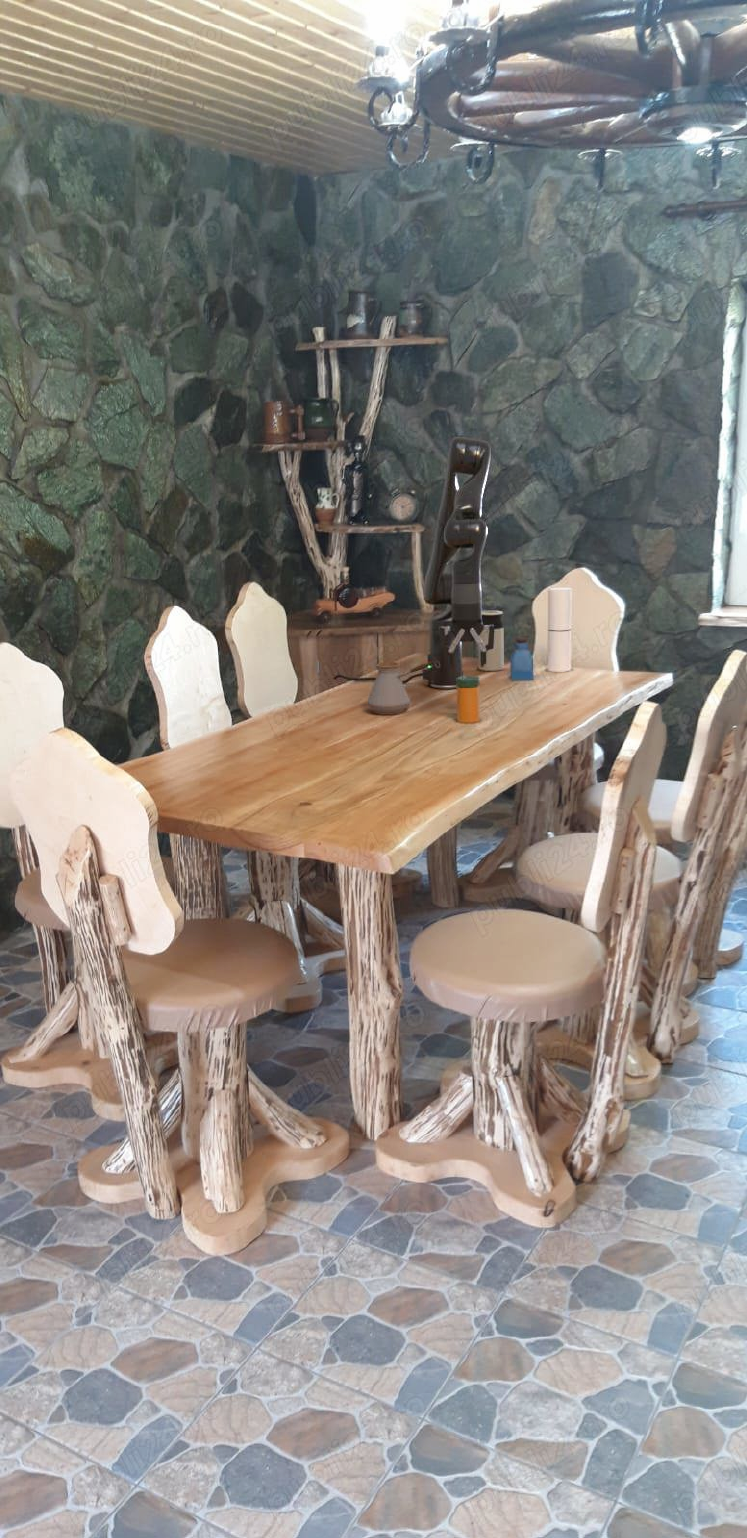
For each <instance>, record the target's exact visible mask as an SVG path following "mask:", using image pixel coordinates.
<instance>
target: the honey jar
mask: <svg viewBox="0 0 747 1538" xmlns="http://www.w3.org/2000/svg"><path fill="white" fill-rule="evenodd" d="M456 721H457V722H459V723H463V724H472V723H473V724H474V723H477V722H480V685H479V686H477V687H458V686H457V688H456Z"/></svg>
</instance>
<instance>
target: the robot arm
mask: <svg viewBox="0 0 747 1538" xmlns="http://www.w3.org/2000/svg"><path fill="white" fill-rule="evenodd" d="M491 457H492V448H491V445H490V443H489V442H488V441H485V440H482V439H477V438H476V439H475V438H470V437H462V436H455V437H453V438H452V439H451V441H450V444H449V446H448V452H447V458H446V465H445V467H446V468H445V475H444V484H443V491H442V496H441V502H440V505H439V506H440V507H439V510H438V515H437V519H436V524H435V531H434V539H433V544H432V550H431V554H430V559H429V562H428V566H427V569H426V572H425V577H424V580H423V588H422V593H423V595H422V596H423V599H424V601H425V603H426V604H427V605H429V606H442V605H443V606H445V605H446V608H445V609H444V610H443V611H441V612H440V613H439V614H437V615H434V616H432V617H431V618H430V619H429V649H430V650H429V651H430V653H428V654H427V663H428V662H432V661H434V660H437V661H438V662H437V663H435V664H436V666H437V667H439V666H440V667H439V668H437V667H436V666H435V664H432V666H428V667H426V668H424V669H422V672H421V673H416V674H413V675H411V676H409V677H408V678H406V679H405V680H402V683H403V684H407V683H409V682H410V681H411V680H412V679H414V678H418V677H422V681H427V687H428V688H433V689H441V690H449V689H450V690H451V689H457V686H456V678H458V677H463V676H464V670H463V643H465V642H469V643H471V642H472V643H474V642H476V644H477V646H478V645H479V647H480V649H481V651H480V665H481V667H484V664H486V652H487V651H488V650H490V649H493V648H494V630H495V627H494V625H492V624H491V625H483V623H482V611H483V604H482V603H483V595H482V585H481V564H482V558H483V557H482V556H483V552H484V548H485V546H486V541H487V538H488V526H487V524H486V522H485V521H484V520H483V519H482V518H481V517H482V506H483V495H484V492H485V489H486V484H487V479H488V474H489V469H490V464H491ZM459 474H460V475H467V476H471V477H470V478H469V479H468V480H467V481H465V482H463V484H461V485H460V484H459V479H458V475H459ZM461 549H472V551H471V553H470V554H469V555H468V556H463V557H459V558H455V559H454V560H453V558H454V557H455V556H456V555H457V554H458V553H459V552H460V551H461ZM451 560H453V561H452V563H451V571H445V569H446V567H447V566H448V564H449V562H450V561H451ZM483 629H485V630H486V633H487V634H489V637H488V644H487V645H485V646H484V644H483V642H482V641H481V639H480V637H479V635H480V634H481V632H482V631H483ZM439 663H440V665H439ZM338 678H342V679H344V680H347V681H355V682H356V681H357V682H358V681H375V680H376V677H348V676H346V675H343V674H336V675H335V676H334V677H333V678H332V680H337V679H338Z"/></svg>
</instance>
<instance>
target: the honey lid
mask: <svg viewBox="0 0 747 1538" xmlns="http://www.w3.org/2000/svg"><path fill="white" fill-rule="evenodd" d="M480 684H481V683H480V677H478V676H475V675H462V677H458V678H456V686H458V687H477V686H479V687H480V686H481V685H480Z"/></svg>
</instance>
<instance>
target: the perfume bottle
mask: <svg viewBox="0 0 747 1538" xmlns="http://www.w3.org/2000/svg"><path fill="white" fill-rule="evenodd" d="M527 641H528V638H527V637H516V642H515V647H516V648H513V651H512V652H511V655H510V657H509V659H510V665H509V666H510V679H511V681H533V680H534V658H533V656H532V653H531V652H530V649H529V648H528V644H529V643H528V642H527Z"/></svg>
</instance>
